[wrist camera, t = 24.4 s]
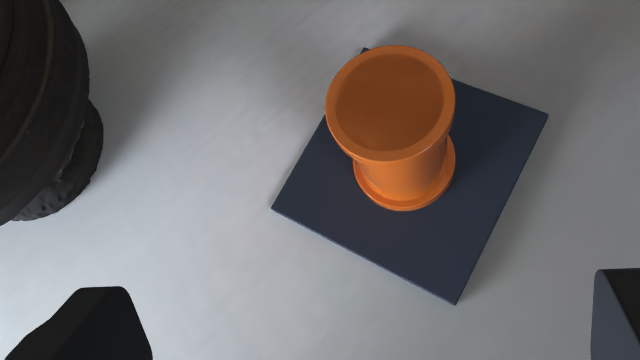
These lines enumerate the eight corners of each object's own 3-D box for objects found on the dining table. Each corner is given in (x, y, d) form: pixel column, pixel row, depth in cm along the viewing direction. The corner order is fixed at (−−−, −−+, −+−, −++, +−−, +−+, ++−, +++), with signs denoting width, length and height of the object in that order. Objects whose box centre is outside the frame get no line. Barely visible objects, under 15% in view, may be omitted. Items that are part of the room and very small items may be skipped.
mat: (547, 117, 30) (549, 113, 30) (455, 306, 28) (455, 305, 28) (365, 51, 35) (363, 46, 34) (272, 210, 33) (270, 208, 32)
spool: (451, 113, 31) (449, 36, 24) (459, 207, 29) (461, 156, 22) (354, 123, 33) (324, 53, 25) (356, 214, 31) (325, 167, 23)
